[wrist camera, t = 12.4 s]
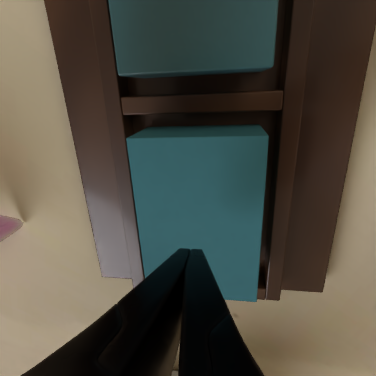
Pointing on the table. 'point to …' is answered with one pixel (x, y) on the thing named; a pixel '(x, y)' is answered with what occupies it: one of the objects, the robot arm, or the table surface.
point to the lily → (8, 226)
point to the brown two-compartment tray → (218, 109)
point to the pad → (202, 198)
